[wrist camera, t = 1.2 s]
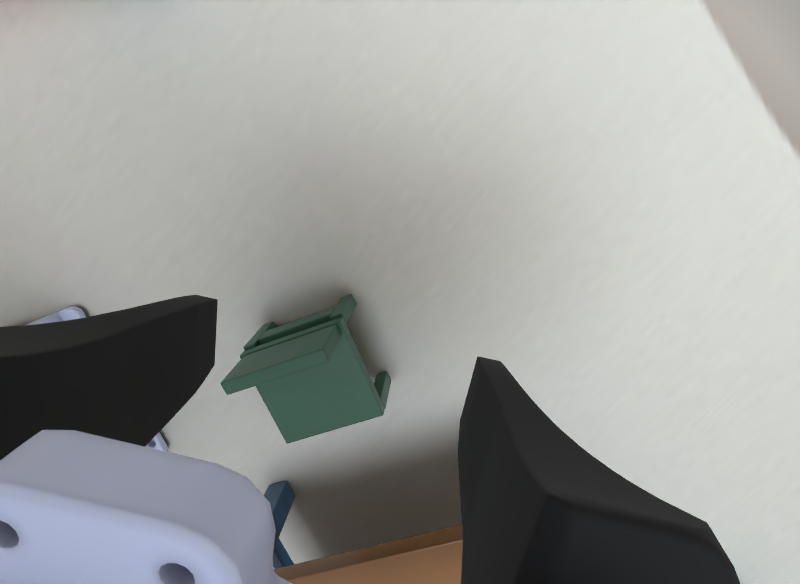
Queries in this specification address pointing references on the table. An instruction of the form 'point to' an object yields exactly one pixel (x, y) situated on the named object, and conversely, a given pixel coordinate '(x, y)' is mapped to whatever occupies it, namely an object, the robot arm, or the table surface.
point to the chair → (310, 374)
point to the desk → (371, 555)
